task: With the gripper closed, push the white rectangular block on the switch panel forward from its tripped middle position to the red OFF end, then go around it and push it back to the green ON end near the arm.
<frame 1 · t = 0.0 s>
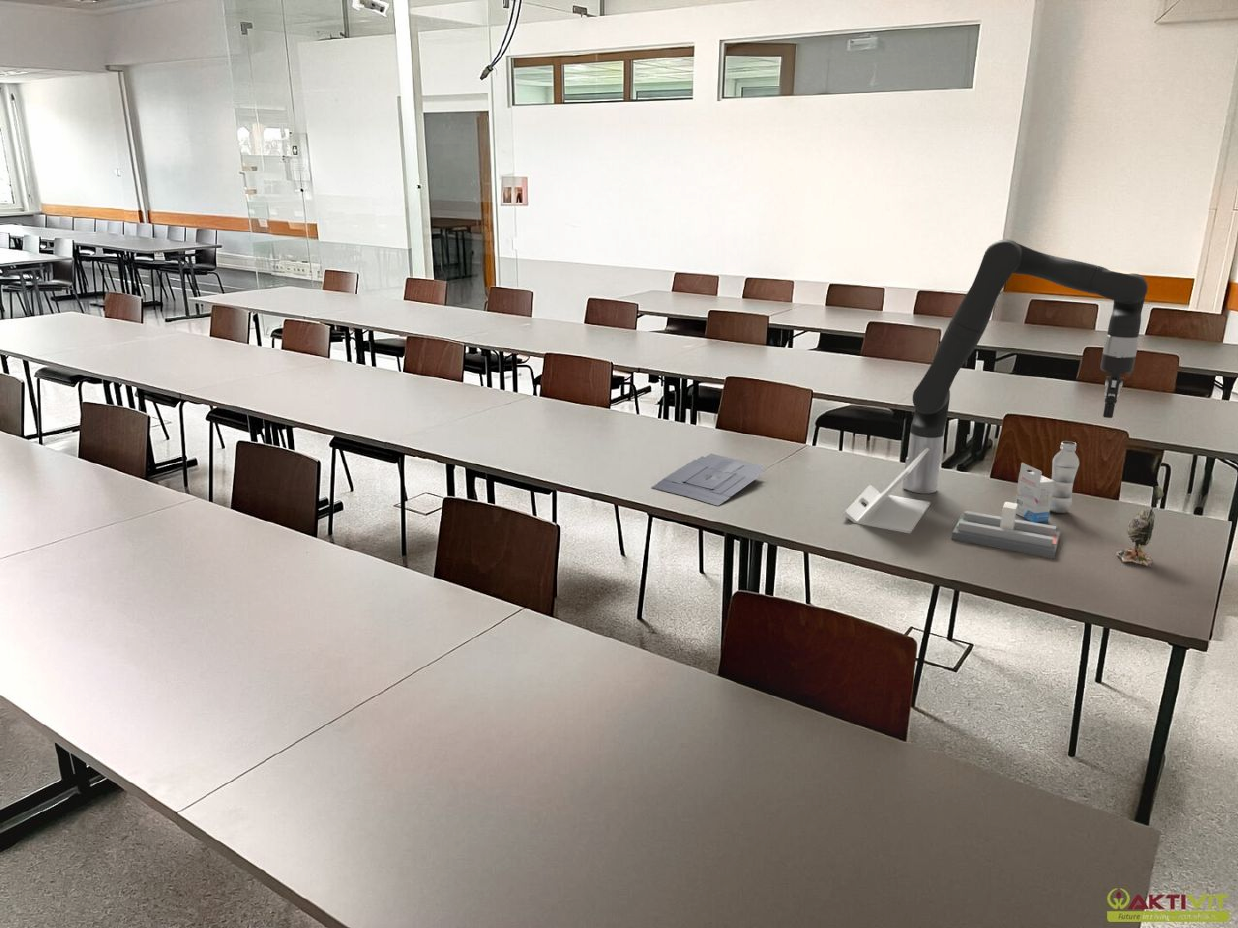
hand: (1108, 413, 230), 29 cm above the table, fingers open, 8 cm apart
tablet stand: (887, 513, 242), on the table
switch panel: (1005, 538, 224), on the table
white rectangular block: (1008, 518, 223), point 6 cm above the table, slide at 0.0 cm
plant with pod: (1134, 559, 213), on the table
ink box: (1030, 517, 239), on the table
plastic bottle: (1056, 512, 243), on the table
papers: (711, 485, 265), on the table
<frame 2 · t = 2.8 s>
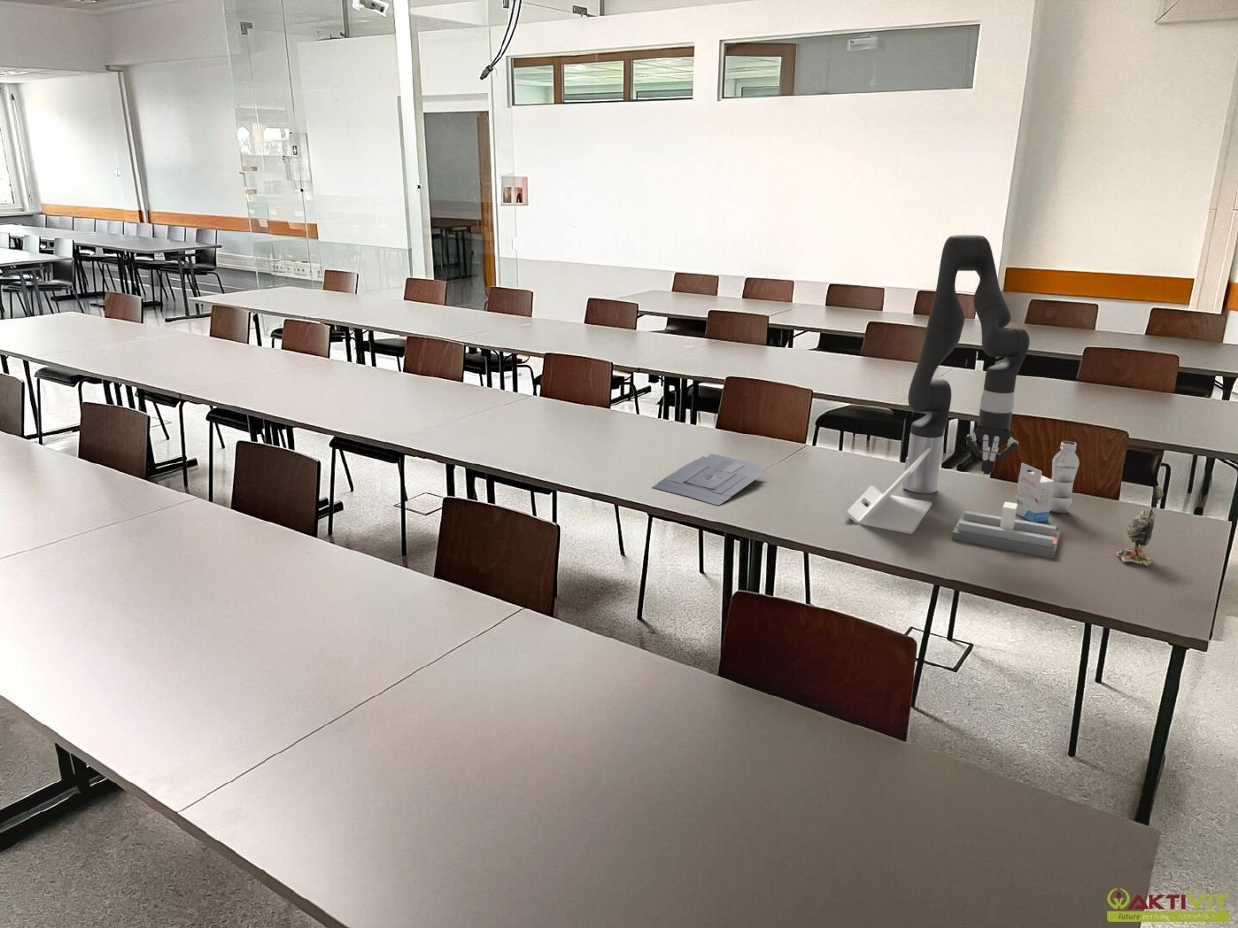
hand: (987, 473, 222), 17 cm above the table, fingers closed
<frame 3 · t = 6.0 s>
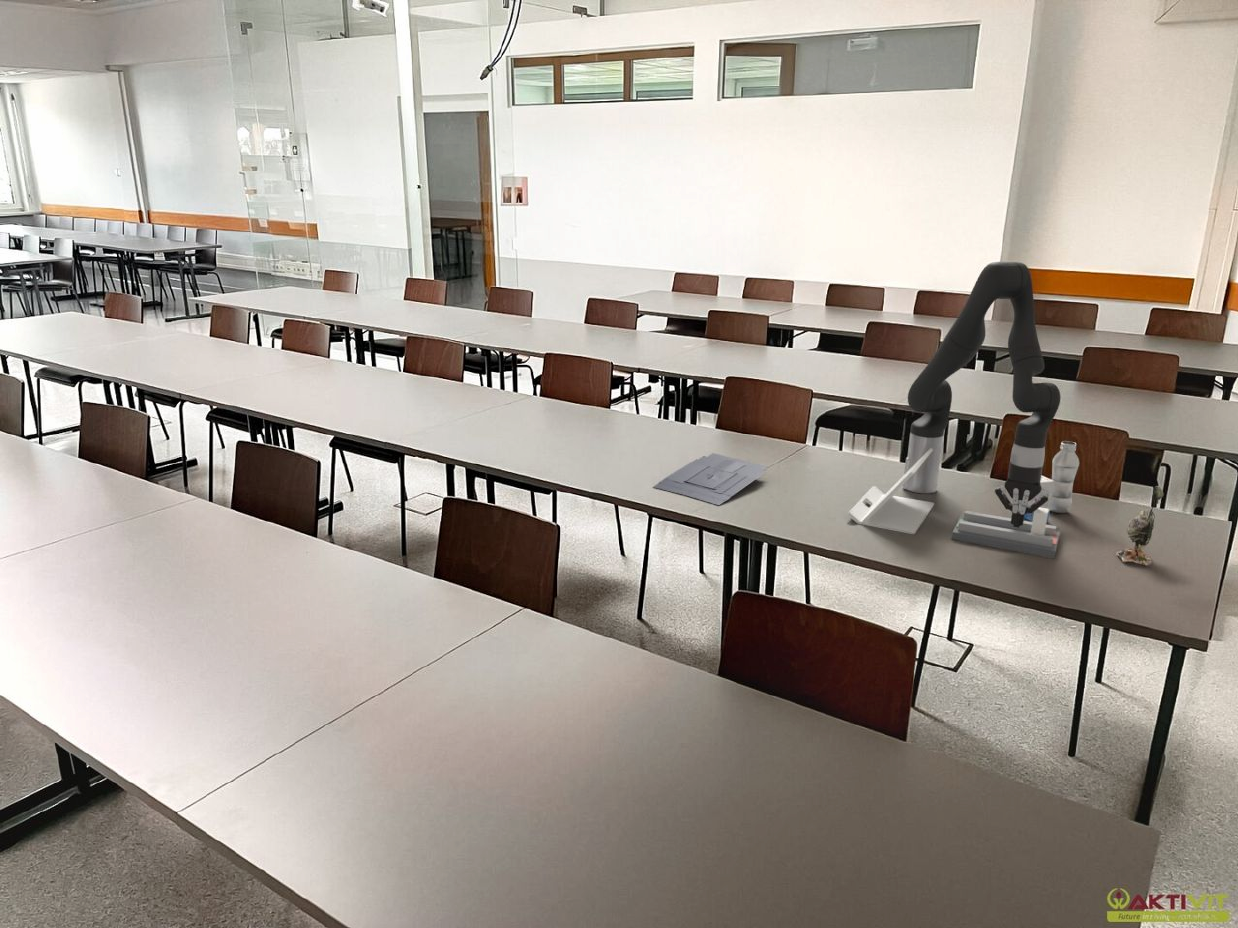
hand: (1016, 526, 222), 4 cm above the table, fingers closed
white rectangular block: (1039, 523, 219), point 6 cm above the table, slide at 7.2 cm, touching hand
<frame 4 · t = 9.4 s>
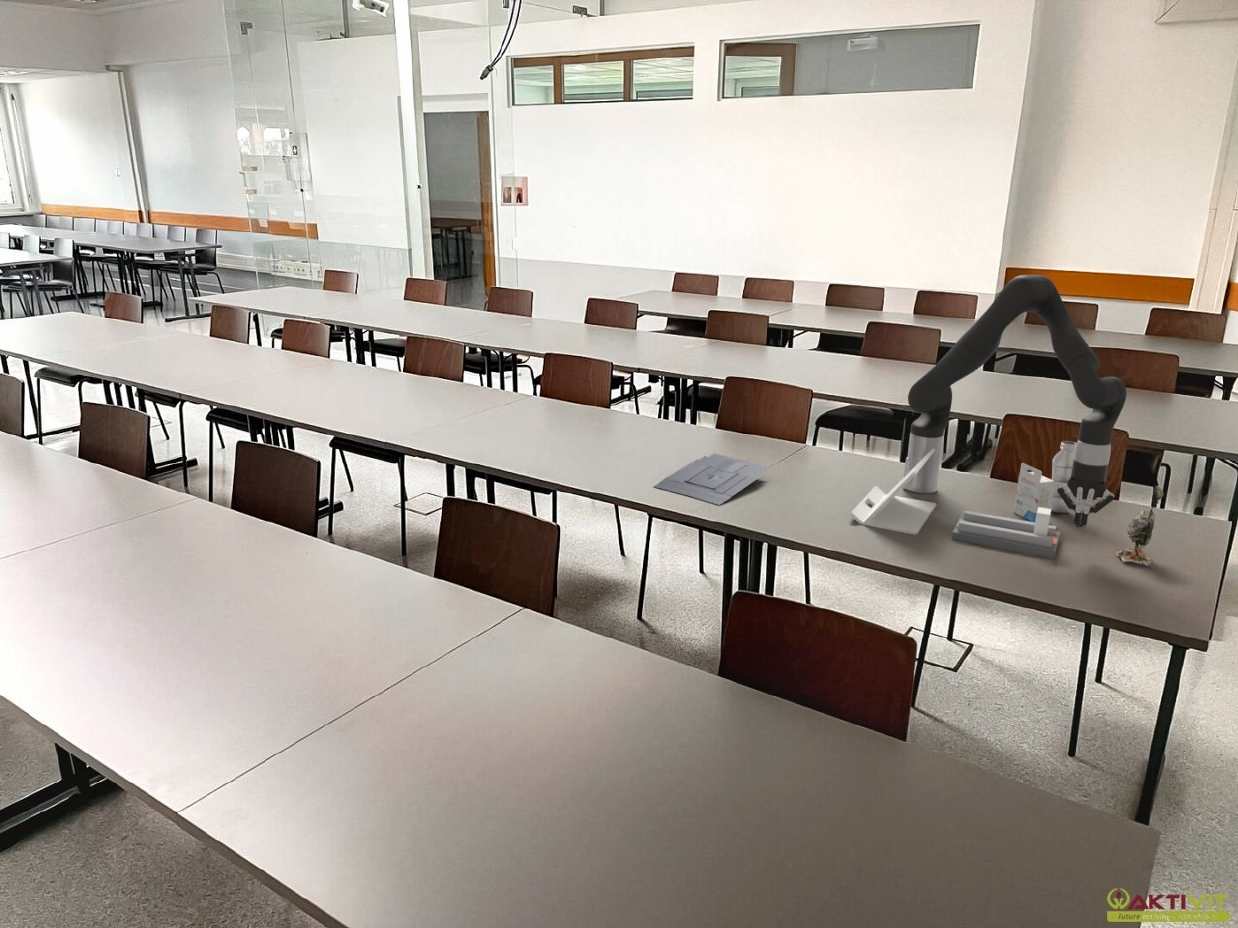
hand: (1079, 526, 215), 7 cm above the table, fingers closed
white rectangular block: (1042, 523, 219), point 6 cm above the table, slide at 7.8 cm
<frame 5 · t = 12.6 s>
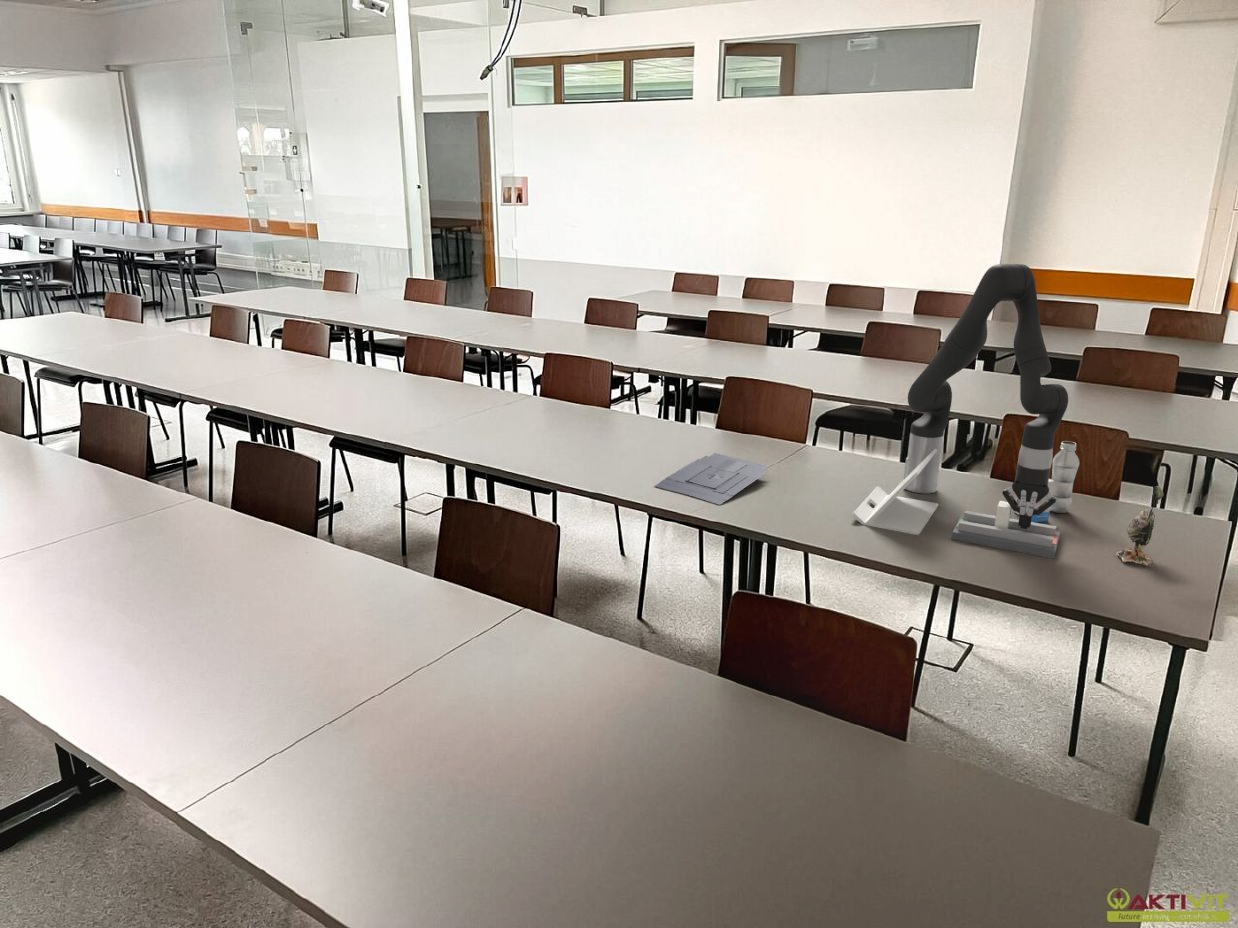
hand: (1024, 527, 221), 4 cm above the table, fingers closed
white rectangular block: (1003, 517, 223), point 6 cm above the table, slide at -1.3 cm, touching hand
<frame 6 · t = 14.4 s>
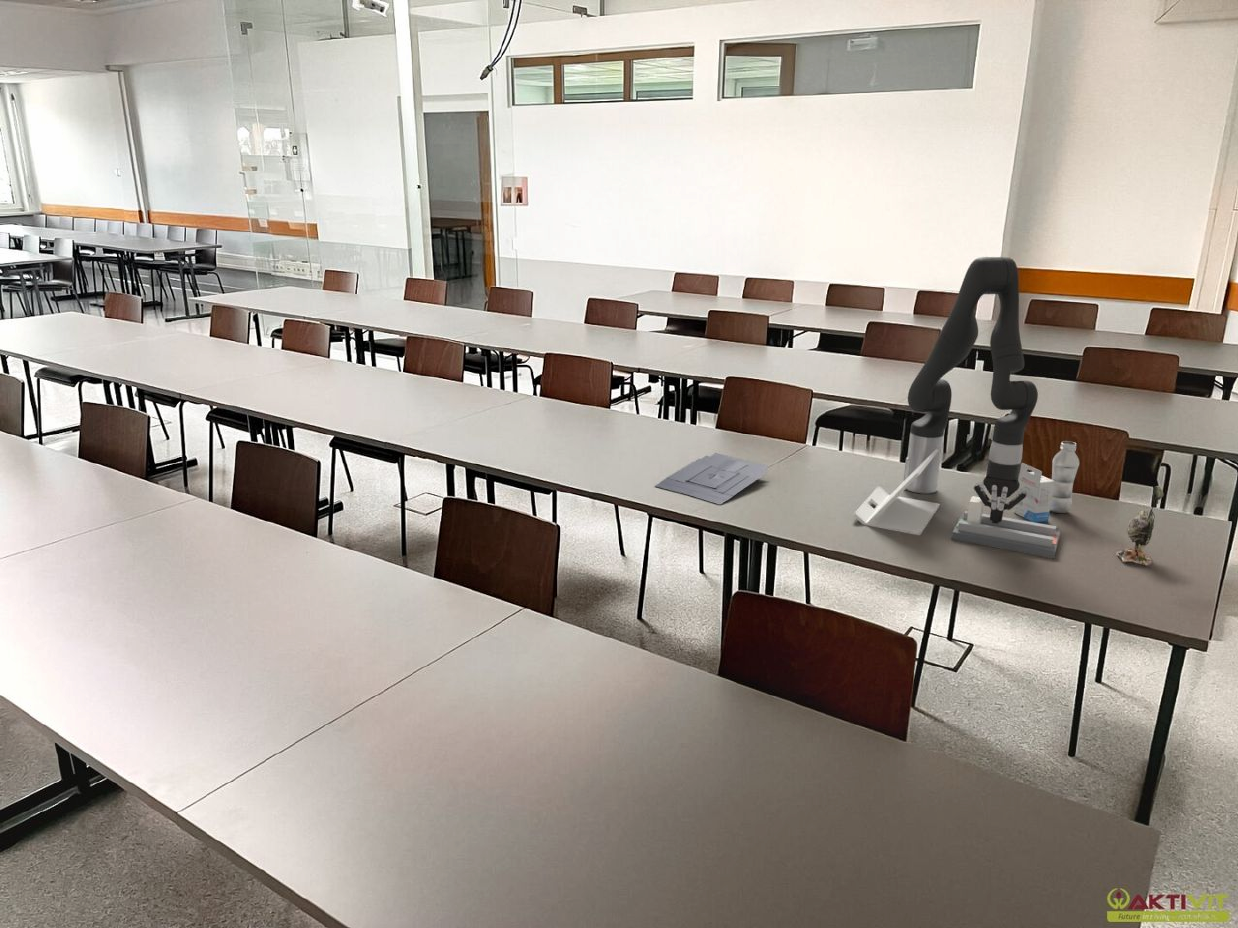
hand: (995, 522, 225), 4 cm above the table, fingers closed
white rectangular block: (975, 512, 226), point 6 cm above the table, slide at -8.0 cm, touching hand
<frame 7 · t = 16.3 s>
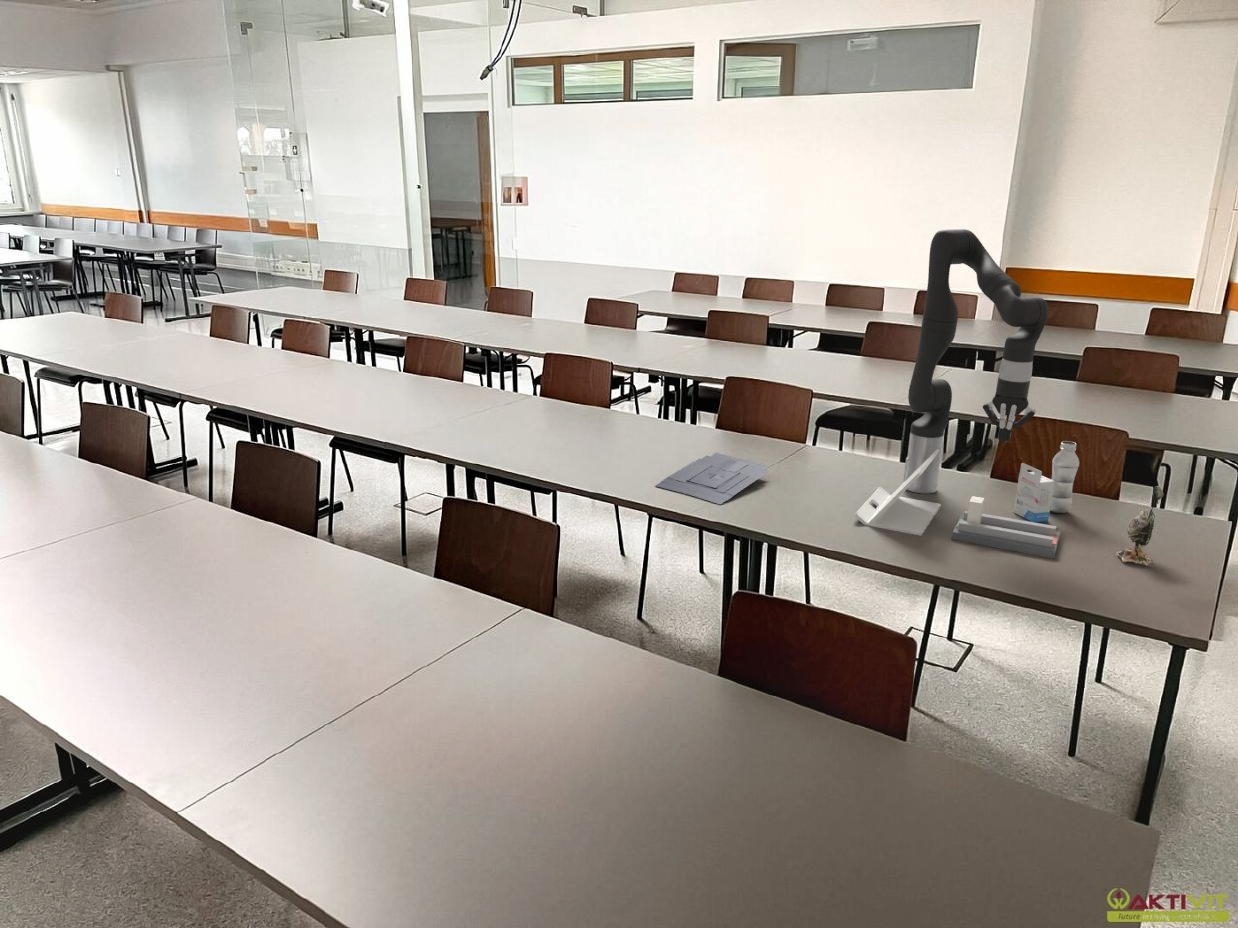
hand: (1003, 441, 226), 23 cm above the table, fingers closed
white rectangular block: (975, 512, 226), point 6 cm above the table, slide at -8.0 cm
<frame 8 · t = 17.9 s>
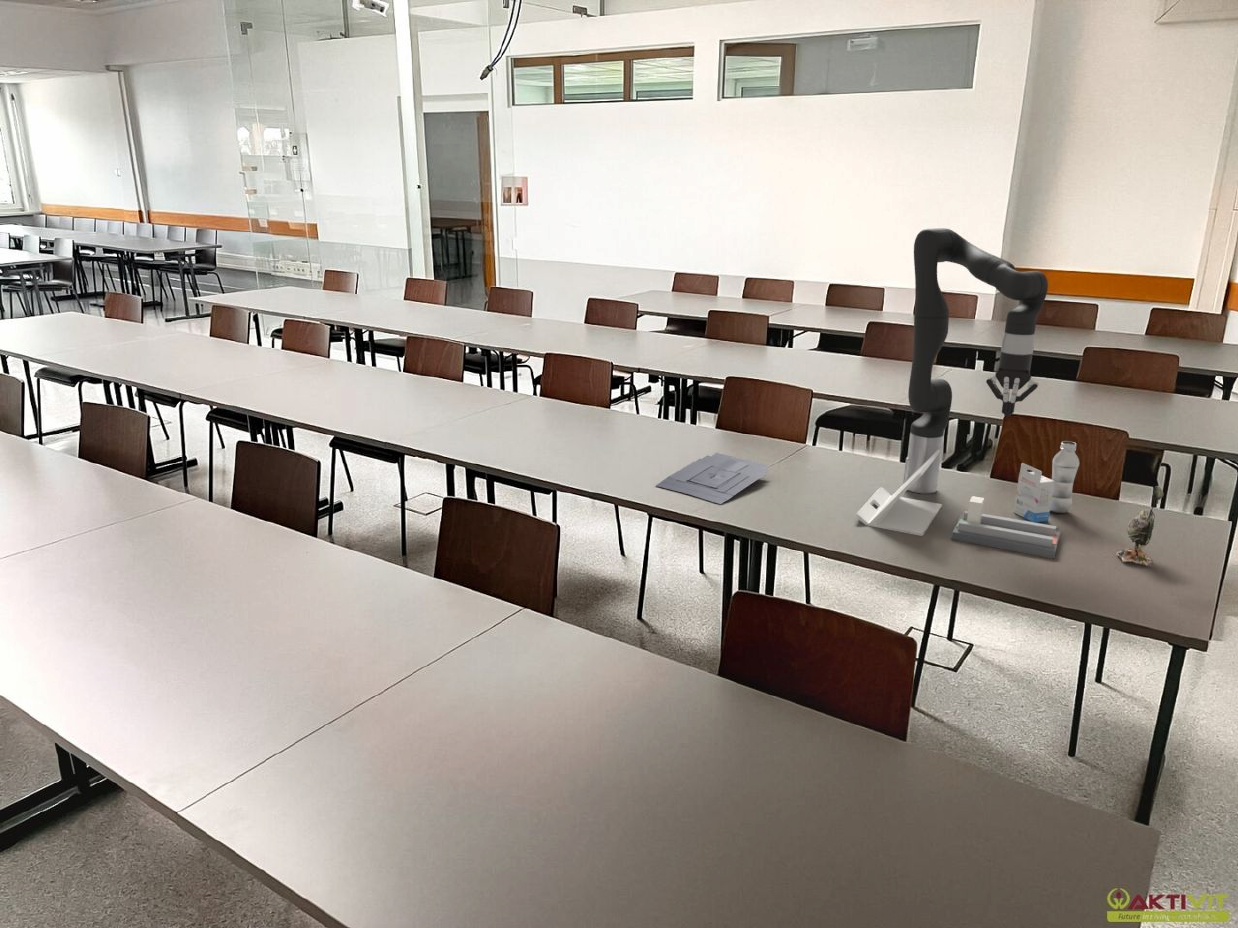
hand: (1007, 415, 229), 29 cm above the table, fingers closed
at the end: white rectangular block slide at -8.0 cm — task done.
